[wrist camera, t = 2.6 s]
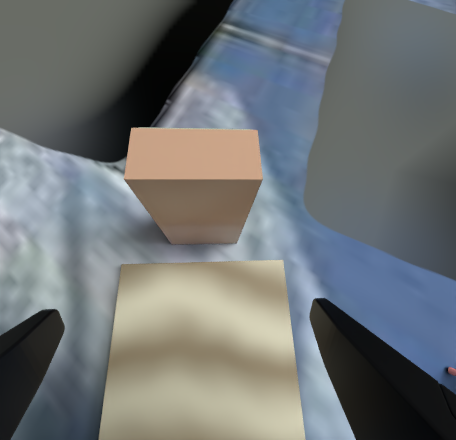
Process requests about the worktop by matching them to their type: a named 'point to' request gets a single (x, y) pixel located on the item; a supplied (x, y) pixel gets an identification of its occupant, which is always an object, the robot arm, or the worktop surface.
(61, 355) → the worktop surface
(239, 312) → the board
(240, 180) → the peach block
